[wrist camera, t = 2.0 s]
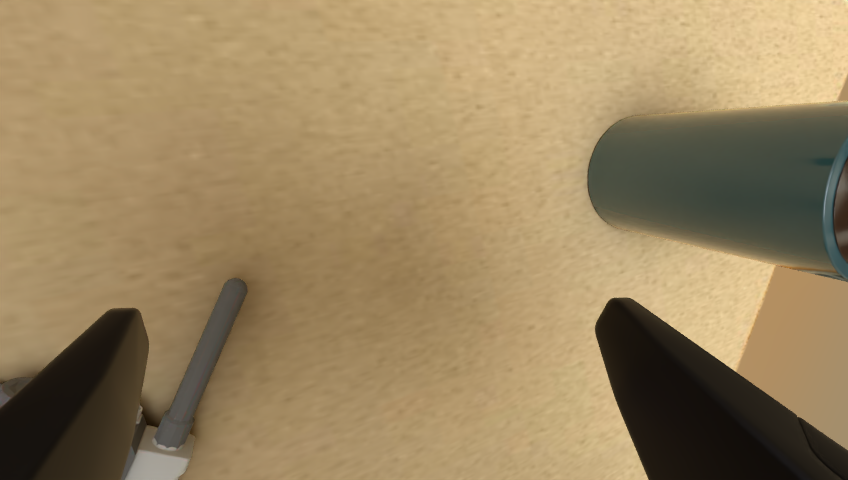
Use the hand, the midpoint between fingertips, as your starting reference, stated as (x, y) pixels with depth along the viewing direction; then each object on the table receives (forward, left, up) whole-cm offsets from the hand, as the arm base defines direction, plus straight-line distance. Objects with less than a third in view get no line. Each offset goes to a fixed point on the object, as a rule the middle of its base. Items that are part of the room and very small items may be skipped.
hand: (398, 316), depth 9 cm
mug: (+1, -20, -15) cm, 25 cm away
